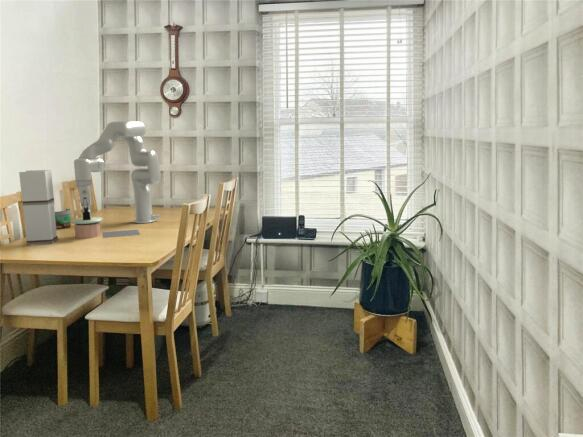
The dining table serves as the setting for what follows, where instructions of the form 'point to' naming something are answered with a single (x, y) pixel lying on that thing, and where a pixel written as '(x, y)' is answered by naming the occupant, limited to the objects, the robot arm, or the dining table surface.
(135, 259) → the dining table surface
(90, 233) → the bowl
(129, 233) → the mat
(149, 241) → the dining table surface
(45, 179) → the grey two-tier tower
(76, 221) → the lid
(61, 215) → the food container
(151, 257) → the dining table surface
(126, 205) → the dining table surface
